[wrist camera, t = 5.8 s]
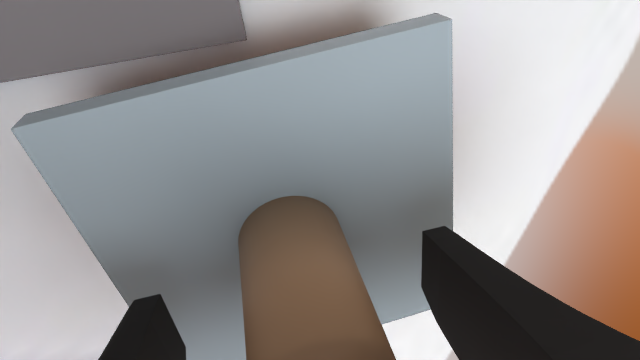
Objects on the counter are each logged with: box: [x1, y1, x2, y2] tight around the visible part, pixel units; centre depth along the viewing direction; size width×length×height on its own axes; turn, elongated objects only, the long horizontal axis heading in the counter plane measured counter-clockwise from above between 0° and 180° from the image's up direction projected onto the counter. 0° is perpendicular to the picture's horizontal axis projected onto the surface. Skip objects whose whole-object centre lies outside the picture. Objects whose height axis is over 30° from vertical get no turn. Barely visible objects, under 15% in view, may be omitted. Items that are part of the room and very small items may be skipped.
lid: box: [11, 13, 453, 360], centre depth 10 cm, size 10×10×5 cm
